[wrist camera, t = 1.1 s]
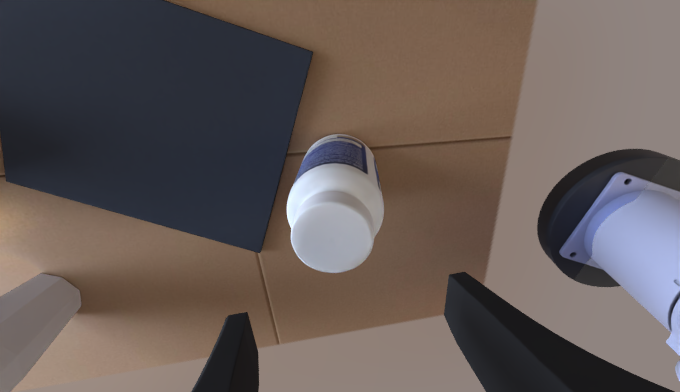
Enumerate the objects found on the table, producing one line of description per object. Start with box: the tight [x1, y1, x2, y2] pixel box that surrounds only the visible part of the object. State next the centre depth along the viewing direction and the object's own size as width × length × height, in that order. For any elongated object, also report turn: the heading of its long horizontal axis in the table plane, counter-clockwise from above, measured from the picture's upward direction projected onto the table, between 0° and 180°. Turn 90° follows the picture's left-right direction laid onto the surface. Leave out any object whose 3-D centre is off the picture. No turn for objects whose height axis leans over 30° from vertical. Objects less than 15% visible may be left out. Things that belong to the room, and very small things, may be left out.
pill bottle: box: [287, 134, 384, 273], centre depth 20 cm, size 5×5×10 cm
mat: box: [0, 0, 313, 253], centre depth 24 cm, size 20×16×1 cm
